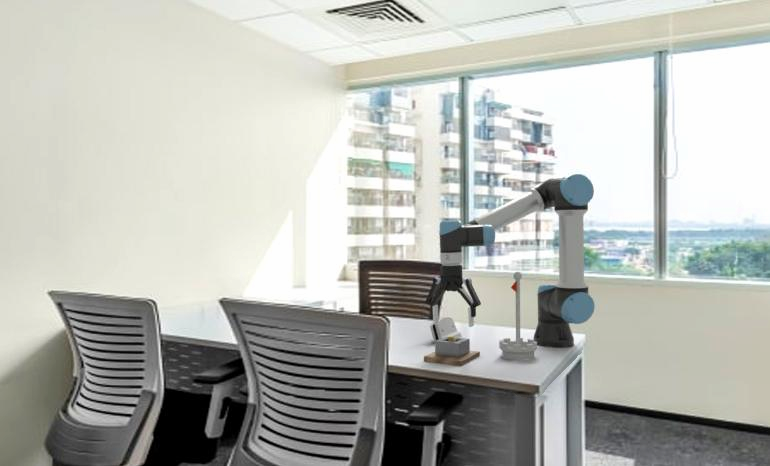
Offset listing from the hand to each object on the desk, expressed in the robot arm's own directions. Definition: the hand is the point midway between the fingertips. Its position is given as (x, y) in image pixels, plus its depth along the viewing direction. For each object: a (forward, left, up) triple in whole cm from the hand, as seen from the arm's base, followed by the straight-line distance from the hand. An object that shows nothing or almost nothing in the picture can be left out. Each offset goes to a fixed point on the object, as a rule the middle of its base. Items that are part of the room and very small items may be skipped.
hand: (453, 325), depth 203 cm
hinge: (+17, -28, -12) cm, 35 cm away
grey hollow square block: (0, 0, -10) cm, 10 cm away
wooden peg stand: (0, 0, -12) cm, 12 cm away
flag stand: (-19, -14, -12) cm, 26 cm away
